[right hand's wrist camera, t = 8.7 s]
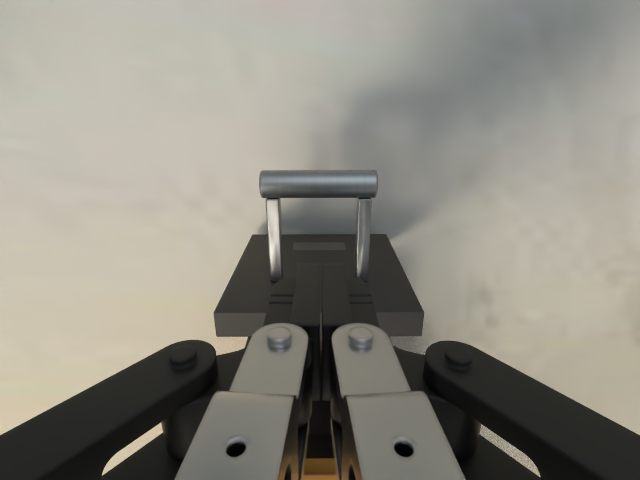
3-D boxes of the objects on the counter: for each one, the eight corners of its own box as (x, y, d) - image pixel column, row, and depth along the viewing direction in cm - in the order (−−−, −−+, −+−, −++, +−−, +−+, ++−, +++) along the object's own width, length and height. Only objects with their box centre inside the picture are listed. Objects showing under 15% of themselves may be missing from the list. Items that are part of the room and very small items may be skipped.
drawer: (246, 151, 22) (197, 185, 13) (391, 150, 22) (438, 185, 13) (266, 429, 30) (243, 566, 21) (373, 429, 30) (395, 566, 21)
